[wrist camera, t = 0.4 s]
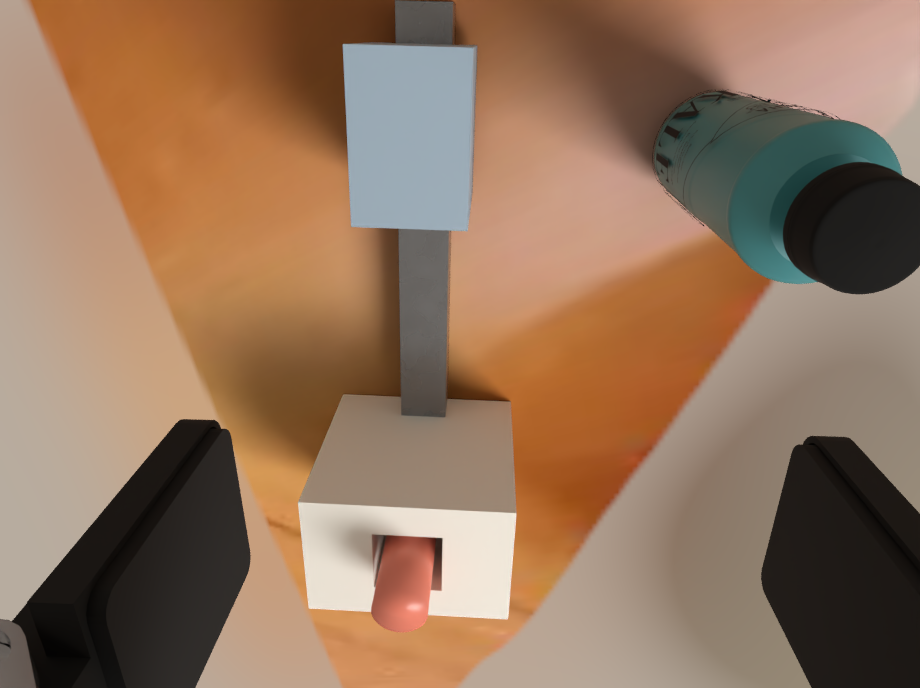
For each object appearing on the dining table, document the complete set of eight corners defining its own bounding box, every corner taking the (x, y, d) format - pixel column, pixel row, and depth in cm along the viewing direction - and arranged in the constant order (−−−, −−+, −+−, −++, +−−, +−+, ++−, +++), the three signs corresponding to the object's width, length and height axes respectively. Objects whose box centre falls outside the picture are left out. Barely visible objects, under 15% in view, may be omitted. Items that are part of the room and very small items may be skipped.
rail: (401, 2, 36) (395, 0, 34) (455, 3, 36) (453, 1, 34) (405, 396, 47) (401, 415, 44) (447, 398, 47) (445, 417, 44)
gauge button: (389, 501, 40) (370, 589, 34) (438, 504, 40) (428, 592, 34) (390, 539, 41) (372, 630, 35) (437, 542, 41) (427, 633, 35)
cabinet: (337, 393, 47) (290, 501, 36) (510, 401, 46) (516, 513, 36) (343, 484, 50) (302, 608, 39) (504, 492, 50) (508, 619, 39)
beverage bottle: (754, 192, 39) (975, 324, 21) (642, 206, 40) (765, 346, 22) (760, 76, 37) (1019, 117, 19) (640, 94, 37) (778, 149, 19)
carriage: (375, 42, 36) (342, 44, 28) (477, 44, 36) (473, 47, 28) (379, 188, 39) (351, 226, 31) (472, 191, 39) (467, 231, 31)
